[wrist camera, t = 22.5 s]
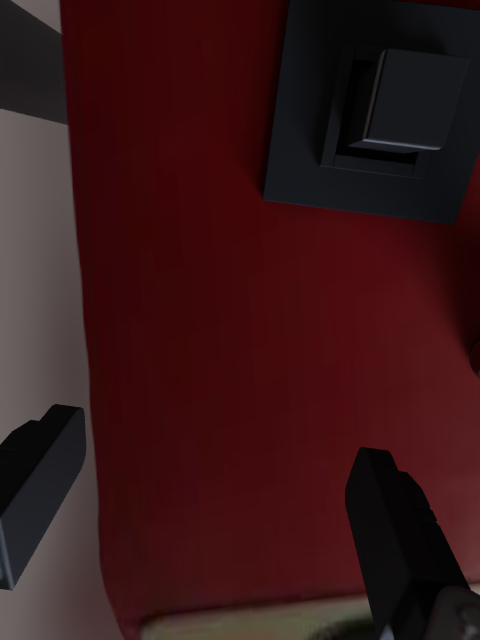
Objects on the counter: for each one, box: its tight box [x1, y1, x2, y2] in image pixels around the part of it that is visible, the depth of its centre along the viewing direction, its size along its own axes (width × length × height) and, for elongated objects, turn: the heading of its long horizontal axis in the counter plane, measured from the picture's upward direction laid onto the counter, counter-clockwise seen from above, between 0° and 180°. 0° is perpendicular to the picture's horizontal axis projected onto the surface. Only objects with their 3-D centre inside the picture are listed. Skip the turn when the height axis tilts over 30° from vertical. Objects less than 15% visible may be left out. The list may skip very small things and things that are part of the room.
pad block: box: [345, 48, 470, 154], centre depth 26 cm, size 5×5×8 cm
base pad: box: [263, 0, 480, 225], centre depth 30 cm, size 17×15×2 cm
